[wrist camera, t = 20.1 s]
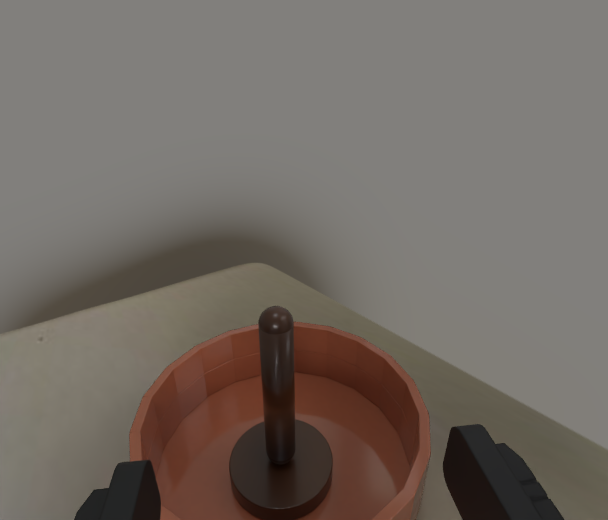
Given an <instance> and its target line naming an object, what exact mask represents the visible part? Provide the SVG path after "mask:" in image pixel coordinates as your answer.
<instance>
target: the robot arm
mask: <svg viewBox="0 0 608 520" xmlns="http://www.w3.org/2000/svg"><path fill="white" fill-rule="evenodd" d="M443 472H444V477H445V481H446V484H447V487H448V489H449V491H450V493H451V496H452V498H453V500H454V502H455V504H456V506H457V508H458V511H459V513H460V515H461V517H462V519H463V520H564V518H563V517H562V515H561V514H560V513H559V511H558V510H557V508H556V507H555V505H554V504H553V502H552V501H551V499H548V497H547V494H546V492H545V491H544V489H543V488H542V486H541V485H540V483H539V482H538V483H537V481H536V478H535V476H534V475H533V473H532V472H531V470H530V469H529V467H528V466H527V465H526V463H525V462H524V460H523V459H522V458H521V457H520V456H519V455H517V454H516V453H515V452H514V451H513V450H512V449H510V448H509V447H508V446H507V445H506V444H505V443H500V444H495V443H494V441H493V440H492V438H491V437H490V435H489V434H488V432H487V431H486V429H485V428H484V427H483V426H482V425H480V424H475V425H466V426H457V427H452V428H451V430H450V434H449V439H448V443H447V448H446V452H445V457H444V461H443ZM160 517H161V498H160V493H159V489H158V485H157V481H156V477H155V473H154V470H153V466H152V462H151V460H140V461H131V462H122V463H118V464H117V466H116V468H115V470H114V473H113V476H112V480H111V483H110V486H109V488H105V489H97V490H93V492H92V493H91V494H90V496H89V497H88V498H87V500H86V501H85V502H84V504H83V505H82V506H81V508H80V509H79V510H78V512H77V514H76V516H75V519H74V520H160Z"/></svg>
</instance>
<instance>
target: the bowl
mask: <svg viewBox="0 0 608 520" xmlns="http://www.w3.org/2000/svg"><path fill="white" fill-rule="evenodd" d="M294 381H295V419H297V420H300V421H303V422H306V423H308V424H310V425H311V426H313V427H314V428H316V429H317V430H318V431H319V432H320V433H321V434H322V435H323V436H324V437H325V439H326V440H327V442H328V444H329V446H330V449H331V452H332V458H333V467H332V481H331V485H330V488H329V491H328V493H327V495H326V496H325V498H324V499H323V501H322V502H321V503H320V504H319V505H318V506H317V507H316V508H315V509H314V510H313V511H311V512H310V513H308V514H307V515H305V516H303V517H300V518H298V519H295V520H416V517H417V515H418V512H419V509H420V505H421V500H422V495H423V490H424V485H425V480H426V475H427V470H428V465H429V460H430V455H431V446H430V422H429V413H428V411H427V409H426V406H425V404H424V402H423V400H422V397H421V395H420V393H419V391H418V389H417V386H416V384H415V382H414V380H413V379H412V378H411V377H410V376H409V375H408V374H407V373H406V372H405V371H404V369H403V368H402V367H401V366H400V365H399V364H398V363H397V362H396V361H395V360H394V359H393V358H392V356H390V355H389V354H387V353H386V352H384V351H382V350H381V349H379V348H378V347H376V346H374V345H373V344H371V343H370V342H368V341H367V340H365V339H363V338H362V337H359V336H356V335H353V334H350V333H347V332H345V331H342V330H339V329H336V328H333V327H330V326H323V325H316V324H309V323H302V322H294ZM263 421H264V409H263V393H262V377H261V361H260V345H259V329H258V324H256V325H252V326H248V327H243V328H239V329H235V330H230V331H228V332H225V333H223V334H221V335H218V336H216V337H214V338H212V339H209V340H207V341H205V342H203V343H201V344H198V345H196V346H194V347H193V348H192V349H190V350H189V351H188V352H186V353H185V354H184V355H182V356H181V357H180V358H178V359H177V360H176V361H174V362H173V363H172V364H170V365H169V366H168V367H167V368H165V370H164V371H163V372H162V373H161V375H160V376H159V377H158V378H157V380H156V381H155V382H154V383H153V385H152V386H151V387H150V388H149V390H148V391H147V392H146V393H145V395H144V396H143V398H142V400H141V403H140V406H139V408H138V411H137V414H136V416H135V419H134V422H133V424H132V427H131V430H130V434H129V444H130V462H131V461H140V460H151V462H152V466H153V470H154V473H155V477H156V481H157V485H158V489H159V493H160V498H161V517H160V520H263V519H260V518H258V517H256V516H254V515H252V514H250V513H249V512H248V511H246V510H245V509H244V508H243V507H242V506H241V505H240V504H239V502H238V501H237V499H236V497H235V495H234V493H233V490H232V487H231V480H230V472H229V461H230V456H231V453H232V450H233V448H234V446H235V444H236V443H237V441H238V440H239V438H240V437H241V436H242V435H243V434H244V433H245V432H246V431H247V430H249V429H250V428H251V427H253V426H255V425H256V424H259V423H261V422H263Z"/></svg>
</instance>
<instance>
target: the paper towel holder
mask: <svg viewBox="0 0 608 520" xmlns="http://www.w3.org/2000/svg"><path fill="white" fill-rule="evenodd" d="M258 329H259V345H260V361H261V377H262V393H263V409H264V421H263V422H261V423H259V424H256V425H255V426H253V427H251V428H250V429H249V430H247V431H246V432H245V433H244V434H243V435H242V436H241V437H240V438H239V440H238V441H237V443H236V444H235V446H234V448H233V450H232V453H231V456H230V461H229V472H230V480H231V487H232V490H233V493H234V495H235V497H236V499H237V501H238V502H239V504H240V505H241V506H242V507H243V508H244V509H245V510H246V511H248V512H249V513H250V514H252V515H254V516H256V517H258V518H260V519H263V520H295V519H298V518H300V517H303V516H305V515H307V514H308V513H310V512H311V511H313V510H314V509H315V508H316V507H317V506H318V505H319V504H320V503H321V502H322V501H323V499H324V498H325V496H326V495H327V493H328V491H329V488H330V485H331V481H332V467H333V458H332V452H331V449H330V446H329V444H328V442H327V440H326V439H325V437H324V436H323V435H322V434H321V433H320V432H319V431H318V430H317V429H316V428H314V427H313V426H311V425H310V424H308V423H306V422H303V421H300V420H297V419H295V381H294V322H293V318H292V315H291V314H290V312H289V311H288V310H286V309H285V308H283V307H280V306H272V307H269V308H267V309H266V310H265V311H264V312H262V314H261V316H260V318H259V321H258Z"/></svg>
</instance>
